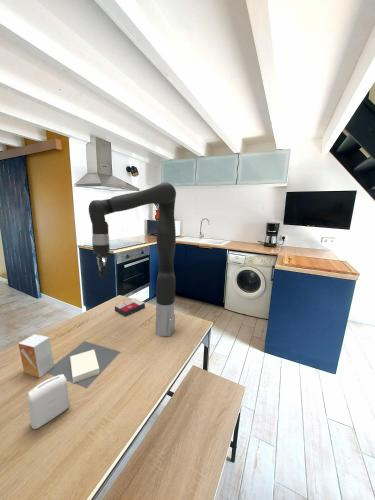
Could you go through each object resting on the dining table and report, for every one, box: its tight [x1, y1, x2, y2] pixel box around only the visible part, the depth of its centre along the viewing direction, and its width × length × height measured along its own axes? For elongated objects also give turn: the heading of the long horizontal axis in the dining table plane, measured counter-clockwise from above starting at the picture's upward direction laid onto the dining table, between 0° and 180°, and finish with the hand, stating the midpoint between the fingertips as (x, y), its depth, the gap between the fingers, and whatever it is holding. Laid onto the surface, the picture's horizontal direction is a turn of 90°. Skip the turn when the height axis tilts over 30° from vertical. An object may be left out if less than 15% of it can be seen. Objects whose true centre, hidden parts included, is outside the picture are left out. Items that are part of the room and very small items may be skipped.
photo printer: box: [26, 374, 70, 430], centre depth 63 cm, size 10×4×12 cm, turn 140°
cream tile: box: [70, 350, 99, 384], centre depth 83 cm, size 2×9×12 cm
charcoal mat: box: [45, 340, 121, 389], centre depth 86 cm, size 20×20×1 cm
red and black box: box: [114, 297, 146, 318], centre depth 130 cm, size 11×4×15 cm
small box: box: [17, 333, 55, 379], centre depth 79 cm, size 8×6×13 cm
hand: (102, 277), depth 103 cm, fingers closed
